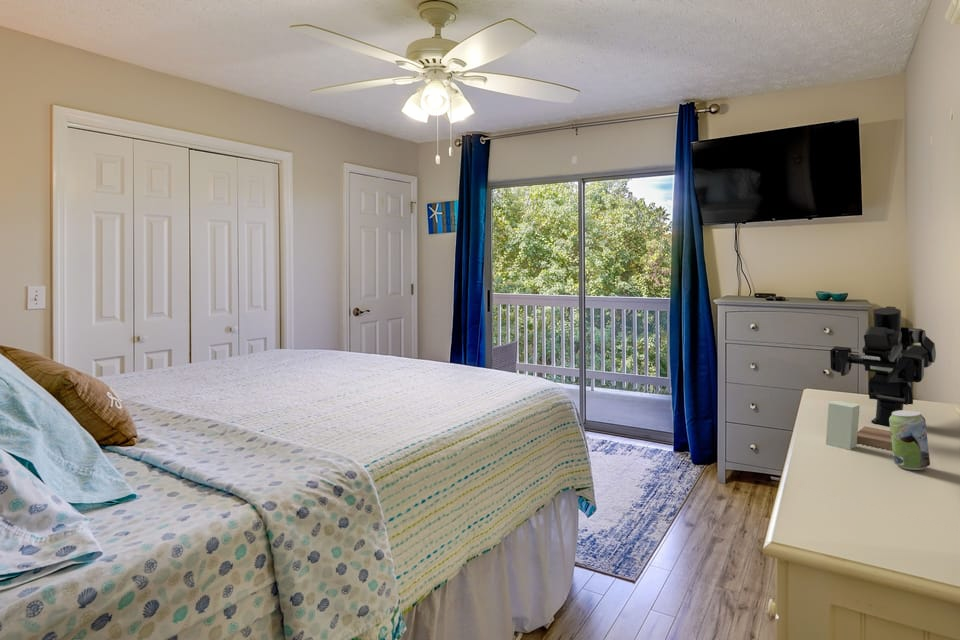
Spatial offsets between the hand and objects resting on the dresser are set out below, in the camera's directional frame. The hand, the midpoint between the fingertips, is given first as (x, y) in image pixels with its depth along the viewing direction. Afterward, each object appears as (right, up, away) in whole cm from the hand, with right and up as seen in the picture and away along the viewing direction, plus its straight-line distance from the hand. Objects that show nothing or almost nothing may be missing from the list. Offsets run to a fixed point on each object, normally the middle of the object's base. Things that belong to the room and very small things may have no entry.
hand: (864, 377), depth 130 cm
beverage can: (-1, -18, -14) cm, 23 cm away
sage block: (-6, -16, 0) cm, 17 cm away
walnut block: (+5, -16, +1) cm, 17 cm away
